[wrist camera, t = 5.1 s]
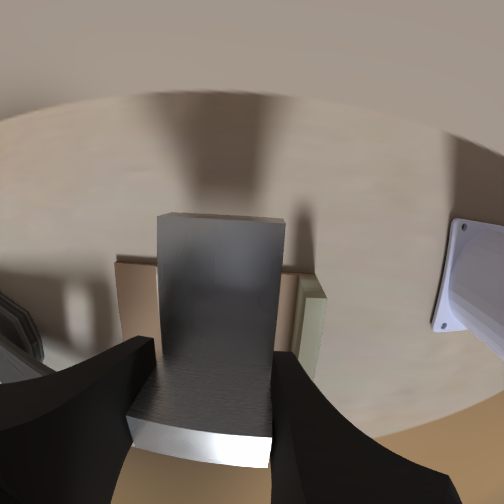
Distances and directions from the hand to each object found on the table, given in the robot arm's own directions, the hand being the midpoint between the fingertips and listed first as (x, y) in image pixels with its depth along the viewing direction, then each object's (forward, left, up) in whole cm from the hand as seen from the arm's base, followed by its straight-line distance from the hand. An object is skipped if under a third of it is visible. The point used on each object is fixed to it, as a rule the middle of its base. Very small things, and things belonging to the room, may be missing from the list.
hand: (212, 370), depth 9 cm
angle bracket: (0, -2, -2) cm, 3 cm away
